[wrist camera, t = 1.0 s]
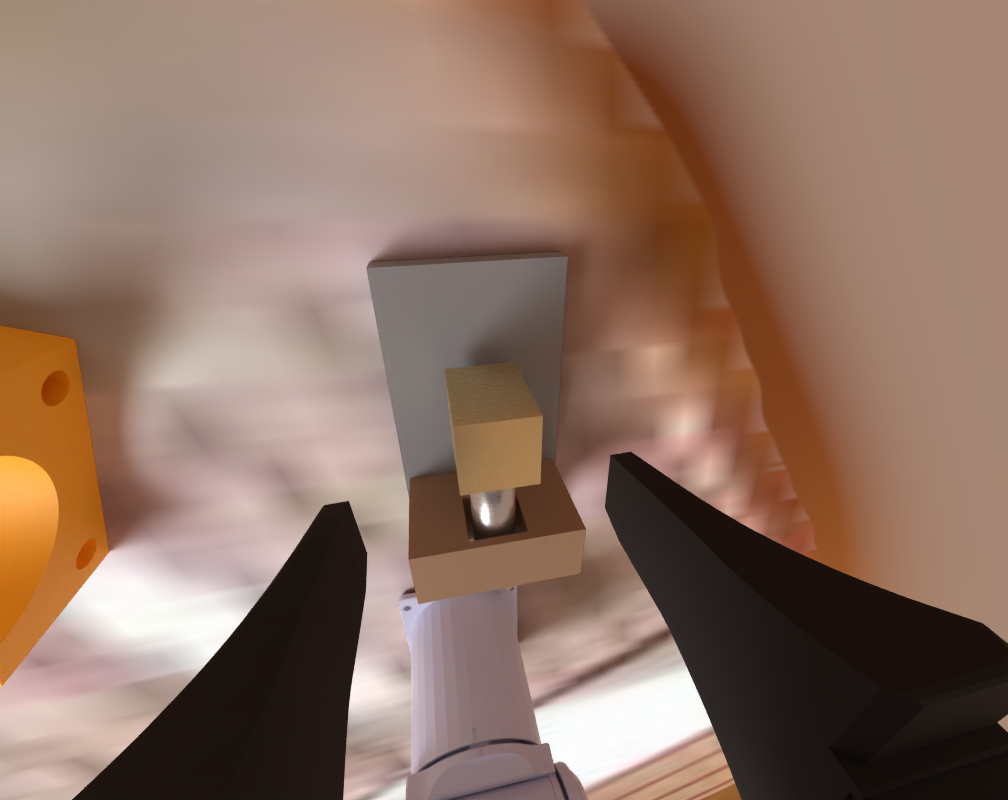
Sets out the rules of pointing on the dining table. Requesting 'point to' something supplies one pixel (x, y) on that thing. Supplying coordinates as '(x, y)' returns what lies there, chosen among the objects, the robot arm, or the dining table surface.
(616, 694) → the dining table surface
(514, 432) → the pin
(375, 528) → the dining table surface
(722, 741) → the robot arm
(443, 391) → the eye block
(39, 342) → the pipe clamp
